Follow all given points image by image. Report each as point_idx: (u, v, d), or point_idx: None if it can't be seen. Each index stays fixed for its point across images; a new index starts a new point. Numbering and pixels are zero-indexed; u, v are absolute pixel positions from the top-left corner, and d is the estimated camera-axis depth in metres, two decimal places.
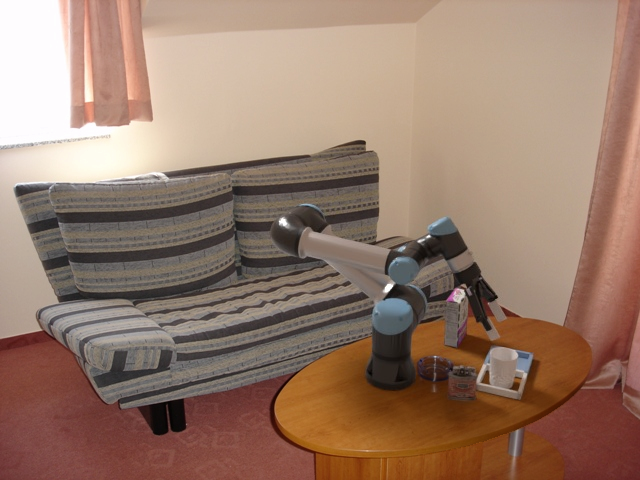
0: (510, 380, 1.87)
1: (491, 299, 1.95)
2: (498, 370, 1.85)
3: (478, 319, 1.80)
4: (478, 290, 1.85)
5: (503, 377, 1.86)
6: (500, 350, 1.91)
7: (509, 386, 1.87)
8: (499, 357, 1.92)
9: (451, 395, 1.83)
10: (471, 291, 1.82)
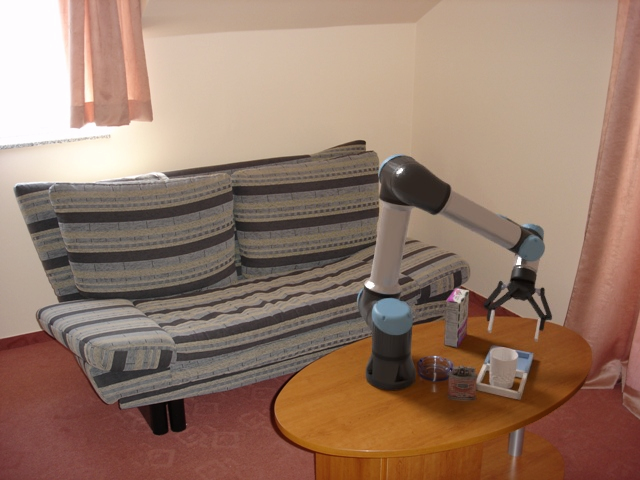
0: (510, 380, 1.87)
1: (492, 309, 1.98)
2: (498, 370, 1.85)
3: (551, 316, 1.92)
4: None
5: (503, 377, 1.86)
6: (500, 350, 1.91)
7: (509, 386, 1.87)
8: (499, 357, 1.92)
9: (451, 395, 1.83)
10: (544, 293, 1.96)
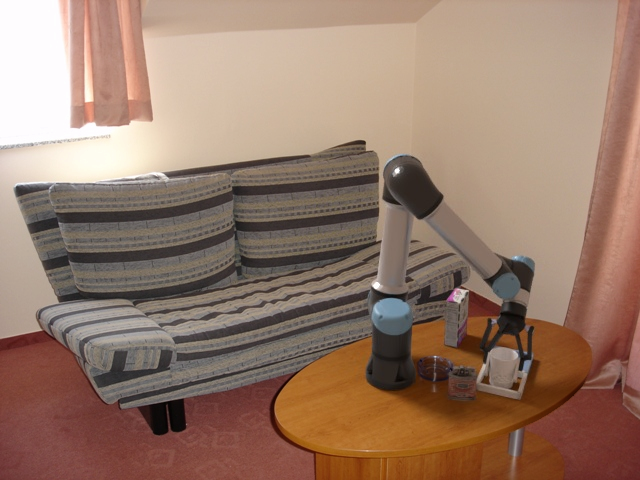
0: (510, 380, 1.87)
1: (489, 351, 1.91)
2: (498, 370, 1.85)
3: None
4: None
5: (503, 377, 1.86)
6: (500, 350, 1.91)
7: (509, 386, 1.87)
8: (499, 357, 1.92)
9: (451, 395, 1.83)
10: (533, 332, 1.90)
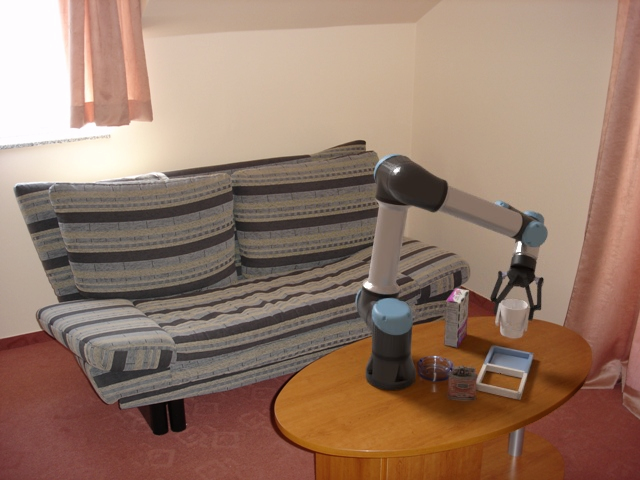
0: (520, 329, 1.93)
1: (500, 302, 1.97)
2: (509, 319, 1.92)
3: (540, 306, 1.92)
4: (528, 284, 1.98)
5: (513, 326, 1.92)
6: (510, 301, 1.97)
7: (519, 335, 1.94)
8: (509, 308, 1.98)
9: (451, 395, 1.83)
10: (542, 283, 1.96)
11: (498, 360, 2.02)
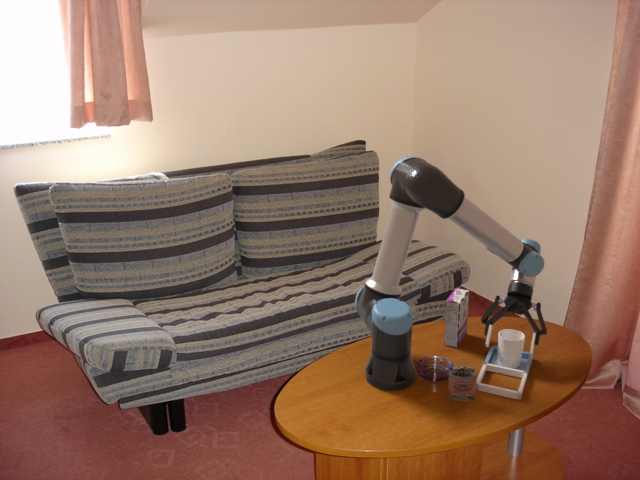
0: (517, 360, 1.97)
1: (490, 324, 2.02)
2: (506, 350, 1.96)
3: (546, 331, 1.95)
4: None
5: (511, 357, 1.96)
6: (507, 332, 2.01)
7: (516, 365, 1.97)
8: (507, 338, 2.02)
9: (451, 395, 1.83)
10: (540, 308, 2.00)
11: None
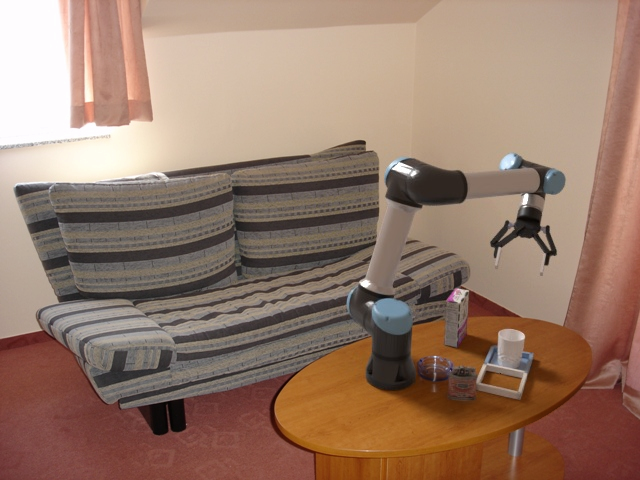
0: (517, 360, 1.97)
1: None
2: (506, 350, 1.96)
3: (556, 251, 1.99)
4: None
5: (511, 357, 1.96)
6: (508, 332, 2.01)
7: (516, 366, 1.97)
8: (507, 338, 2.02)
9: (451, 395, 1.83)
10: None
11: None
